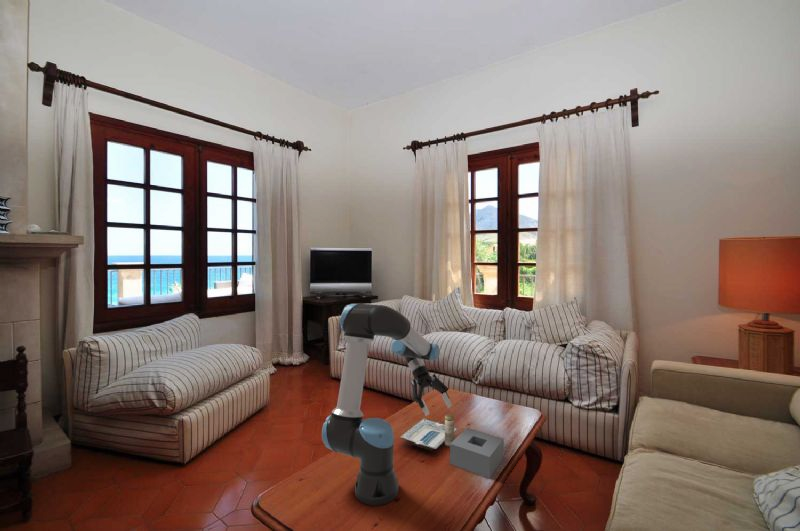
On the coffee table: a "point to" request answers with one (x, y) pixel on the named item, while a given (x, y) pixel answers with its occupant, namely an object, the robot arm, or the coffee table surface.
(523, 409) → the coffee table surface
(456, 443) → the socket block
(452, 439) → the peg
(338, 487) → the coffee table surface
